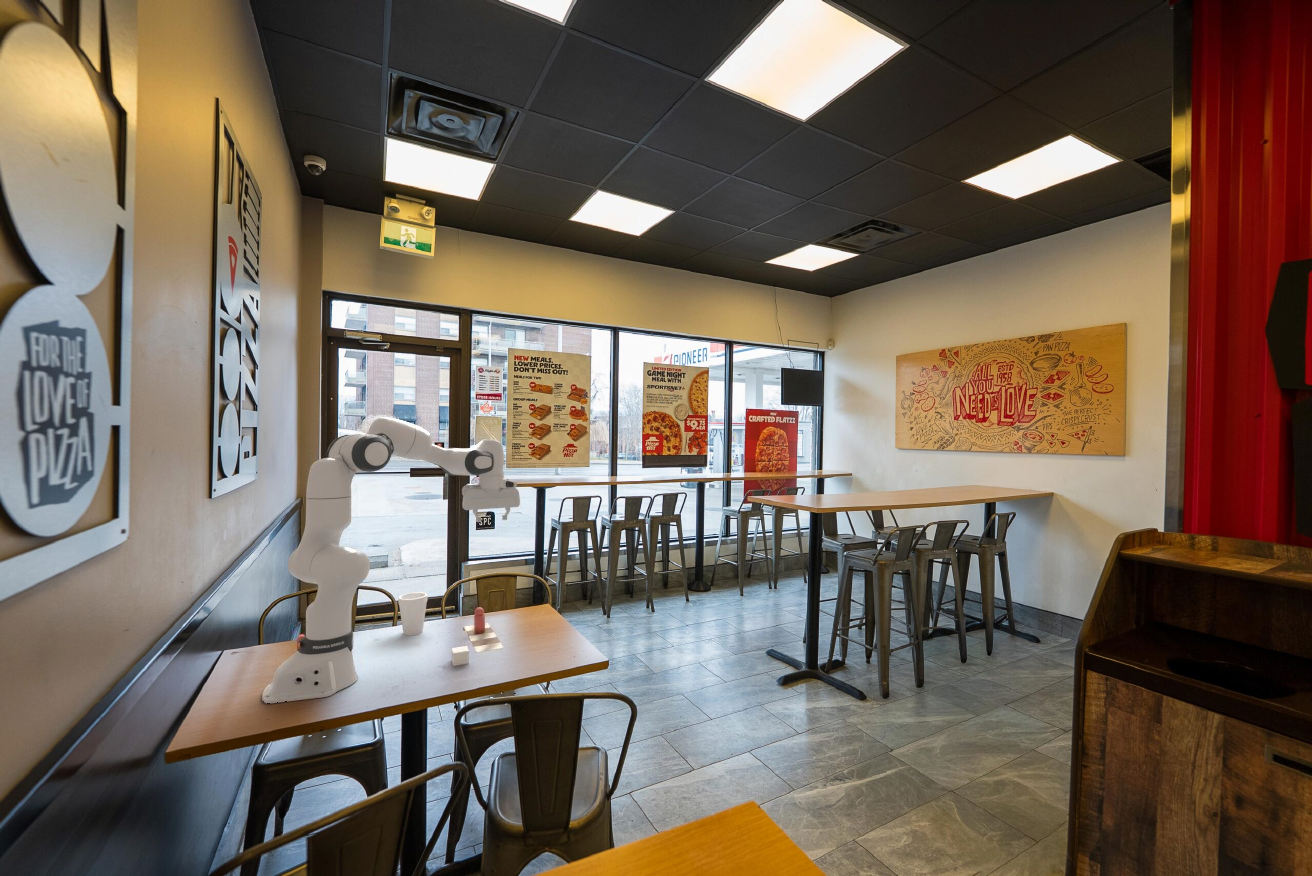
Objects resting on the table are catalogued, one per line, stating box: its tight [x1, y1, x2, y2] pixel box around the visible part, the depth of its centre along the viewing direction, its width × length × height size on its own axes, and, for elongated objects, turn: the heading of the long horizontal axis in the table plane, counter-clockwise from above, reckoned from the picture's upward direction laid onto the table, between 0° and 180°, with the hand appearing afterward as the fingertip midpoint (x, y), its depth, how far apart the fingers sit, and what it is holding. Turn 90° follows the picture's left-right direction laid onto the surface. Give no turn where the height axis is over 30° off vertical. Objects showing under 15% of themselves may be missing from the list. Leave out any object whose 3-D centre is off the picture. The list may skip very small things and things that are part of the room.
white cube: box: [451, 645, 470, 667], centre depth 169 cm, size 4×4×4 cm
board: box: [462, 622, 504, 653], centre depth 191 cm, size 9×28×1 cm, turn 27°
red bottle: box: [473, 607, 486, 633], centre depth 196 cm, size 4×4×9 cm
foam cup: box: [398, 591, 428, 636], centre depth 197 cm, size 10×9×13 cm
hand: (491, 520), depth 202 cm, fingers open, 8 cm apart
